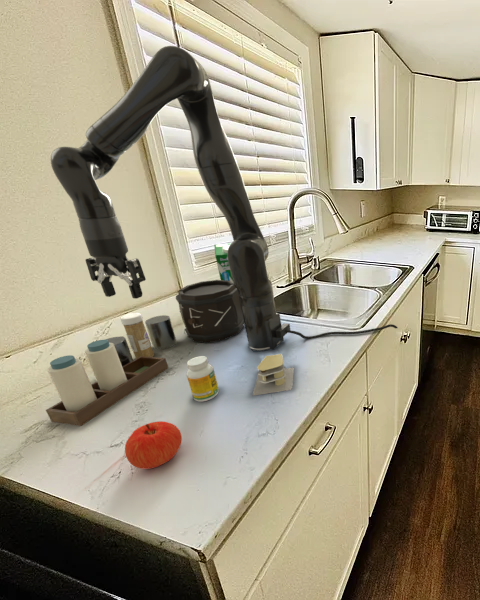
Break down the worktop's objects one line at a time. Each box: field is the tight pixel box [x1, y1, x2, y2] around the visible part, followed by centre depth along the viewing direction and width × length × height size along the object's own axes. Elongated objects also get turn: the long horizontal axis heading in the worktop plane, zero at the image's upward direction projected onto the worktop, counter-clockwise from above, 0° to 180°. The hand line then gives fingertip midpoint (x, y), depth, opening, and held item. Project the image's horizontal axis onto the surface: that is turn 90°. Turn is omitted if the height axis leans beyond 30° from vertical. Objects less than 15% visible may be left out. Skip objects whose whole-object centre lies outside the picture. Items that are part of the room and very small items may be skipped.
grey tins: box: [104, 314, 178, 366], centre depth 92 cm, size 6×20×9 cm, turn 170°
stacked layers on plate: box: [252, 353, 295, 397], centre depth 81 cm, size 10×9×6 cm
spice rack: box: [45, 356, 169, 427], centre depth 78 cm, size 8×22×4 cm, turn 170°
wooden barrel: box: [175, 279, 245, 344], centre depth 106 cm, size 18×18×16 cm
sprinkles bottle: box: [120, 312, 155, 360], centre depth 91 cm, size 5×5×13 cm
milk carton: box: [213, 242, 233, 283], centre depth 123 cm, size 9×9×25 cm
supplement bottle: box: [186, 355, 220, 403], centre depth 76 cm, size 5×5×10 cm
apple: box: [124, 420, 183, 470], centre depth 59 cm, size 8×8×8 cm
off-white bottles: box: [47, 339, 127, 412], centre depth 73 cm, size 5×12×13 cm, turn 170°
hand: (124, 296), depth 87 cm, fingers open, 8 cm apart
